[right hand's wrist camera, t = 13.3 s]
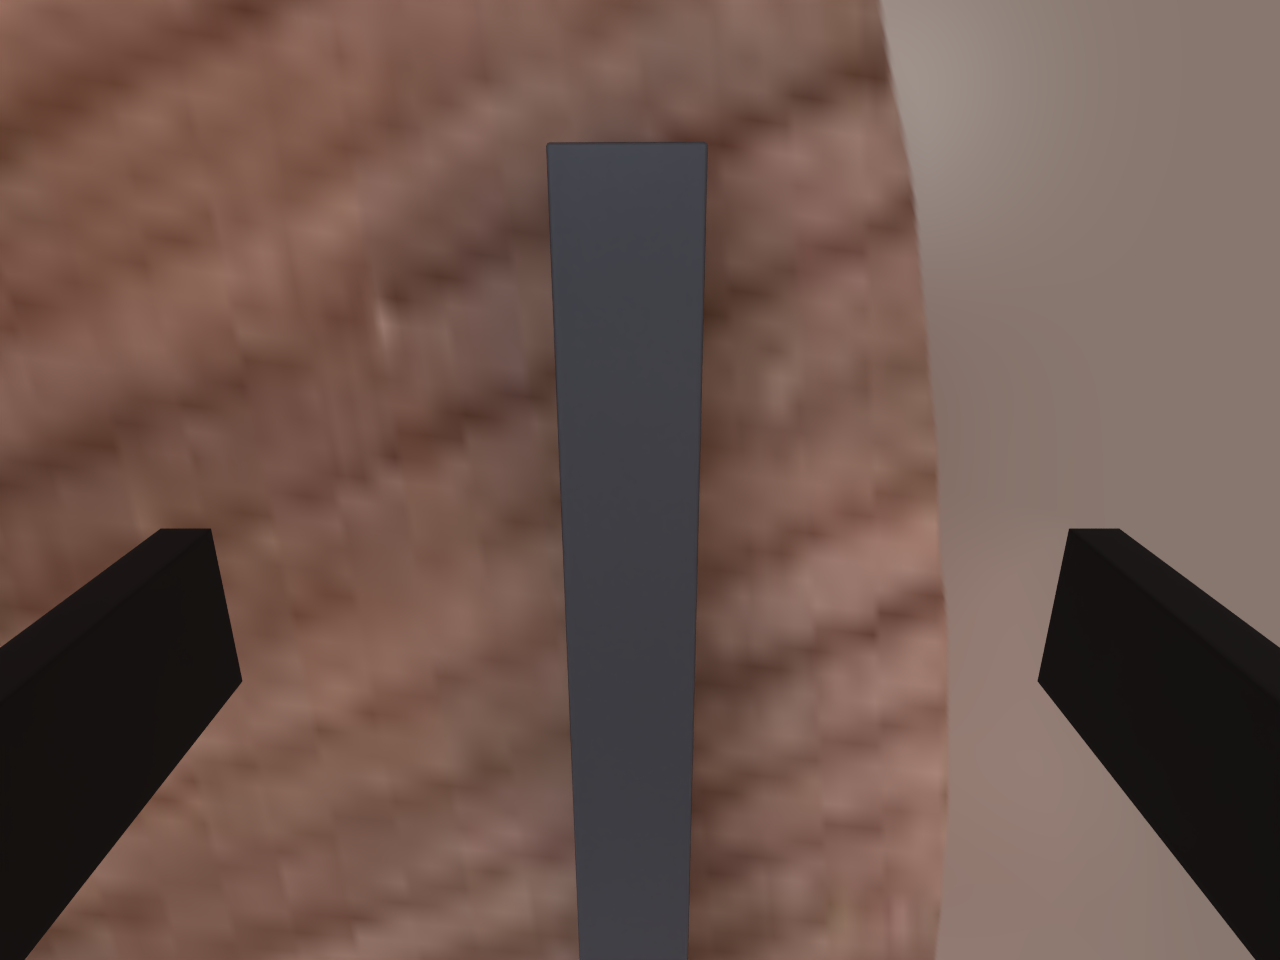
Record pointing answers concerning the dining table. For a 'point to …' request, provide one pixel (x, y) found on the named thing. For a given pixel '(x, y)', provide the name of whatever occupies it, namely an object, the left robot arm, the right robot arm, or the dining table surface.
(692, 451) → the beam
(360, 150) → the dining table surface
